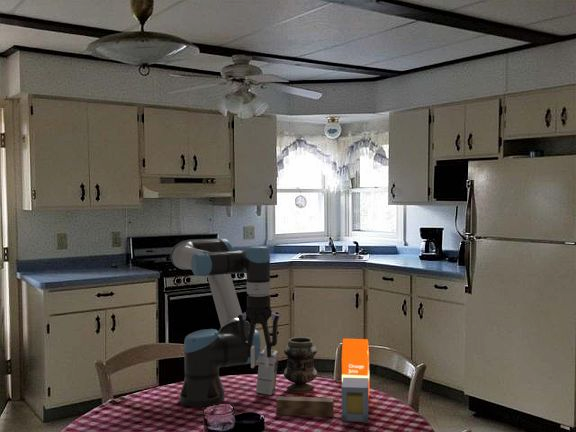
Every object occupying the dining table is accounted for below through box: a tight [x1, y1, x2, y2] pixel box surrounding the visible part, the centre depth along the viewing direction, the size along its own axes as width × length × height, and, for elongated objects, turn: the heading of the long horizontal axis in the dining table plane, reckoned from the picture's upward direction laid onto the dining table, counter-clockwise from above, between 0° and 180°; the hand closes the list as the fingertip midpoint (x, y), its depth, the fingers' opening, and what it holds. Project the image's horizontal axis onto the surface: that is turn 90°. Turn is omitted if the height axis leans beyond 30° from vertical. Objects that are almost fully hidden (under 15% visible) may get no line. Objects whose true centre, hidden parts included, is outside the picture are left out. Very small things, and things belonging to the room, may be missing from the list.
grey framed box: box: [341, 378, 370, 423], centre depth 194 cm, size 8×10×10 cm
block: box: [347, 392, 363, 413], centre depth 194 cm, size 5×5×7 cm
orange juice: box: [341, 338, 370, 398], centre depth 212 cm, size 8×9×20 cm
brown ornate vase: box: [283, 336, 318, 394], centre depth 221 cm, size 12×12×18 cm
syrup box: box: [255, 349, 279, 396], centre depth 218 cm, size 6×6×14 cm
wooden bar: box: [275, 396, 335, 418], centre depth 197 cm, size 18×4×5 cm, turn 82°
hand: (259, 367), depth 198 cm, fingers open, 4 cm apart
